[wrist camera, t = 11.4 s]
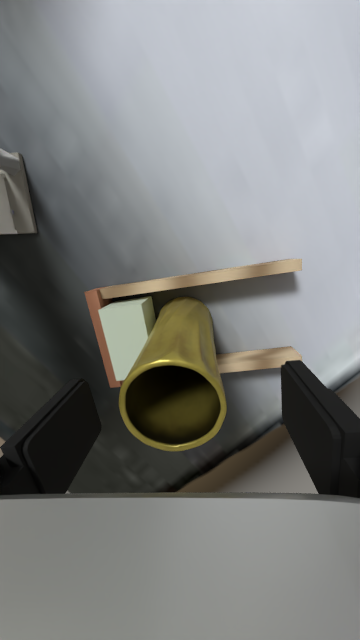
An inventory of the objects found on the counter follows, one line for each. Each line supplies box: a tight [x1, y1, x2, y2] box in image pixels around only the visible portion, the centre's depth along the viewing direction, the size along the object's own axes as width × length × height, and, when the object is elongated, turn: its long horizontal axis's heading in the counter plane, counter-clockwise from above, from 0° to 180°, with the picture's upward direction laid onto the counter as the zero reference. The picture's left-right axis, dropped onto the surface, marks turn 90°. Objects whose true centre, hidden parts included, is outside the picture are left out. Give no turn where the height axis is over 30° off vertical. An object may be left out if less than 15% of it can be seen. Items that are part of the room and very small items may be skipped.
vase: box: [119, 297, 227, 451], centre depth 17 cm, size 6×6×14 cm
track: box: [85, 259, 302, 388], centre depth 22 cm, size 20×10×3 cm, turn 99°
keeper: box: [98, 296, 156, 381], centre depth 22 cm, size 4×7×4 cm, turn 9°
